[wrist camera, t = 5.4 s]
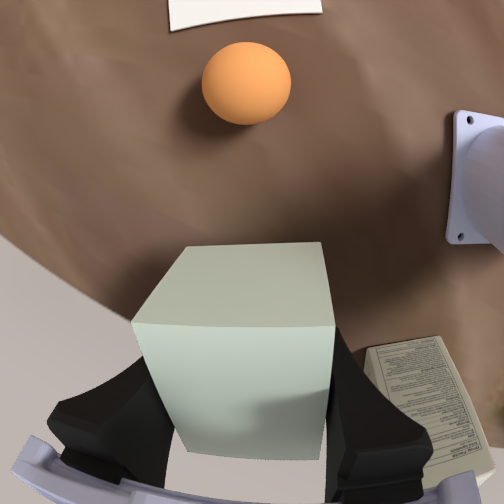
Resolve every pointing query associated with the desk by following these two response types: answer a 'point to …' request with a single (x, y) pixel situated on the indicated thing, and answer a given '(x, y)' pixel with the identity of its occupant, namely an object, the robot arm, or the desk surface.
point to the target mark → (233, 10)
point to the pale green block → (243, 348)
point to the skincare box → (433, 405)
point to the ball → (246, 83)
